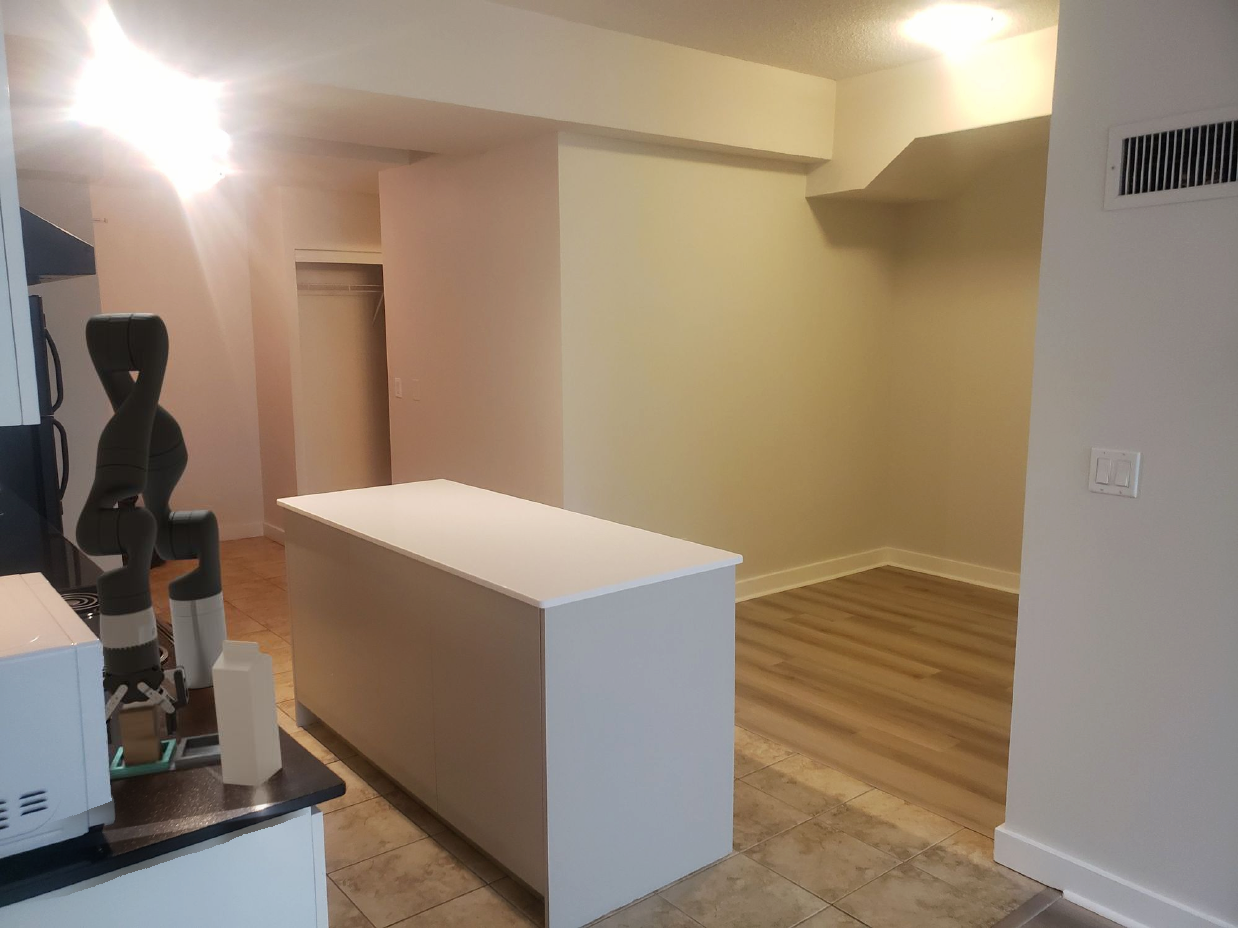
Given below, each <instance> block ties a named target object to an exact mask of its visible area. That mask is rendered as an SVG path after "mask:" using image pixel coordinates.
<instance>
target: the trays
mask: <svg viewBox="0 0 1238 928" xmlns="http://www.w3.org/2000/svg"><path fill="white" fill-rule="evenodd" d="M161 742H162V750H163V753H162V756H161V759H160V761H154V762H147V763H141V764H134V765H128V766H125V763H124V755H123V747H122V746H120V747H119V748H118V750H117V752H116V754H115V756H114V759H113V760H112V762H111V765H110V767H109V768H110V770H111V780H116V779H125V778H127V777H128V778H129V777H136V776H141V775H142V776H143V775H148V774H149V775H150V774H155V773H162V772H168V771H175V770H182V769H188V768H193V767H194V768H195V767H201V766H206V765H214V764H221V754H220V744H219V735H218V732H215V733H206V734H200V735H194V736H187V737H182V738H181V740H180V743H179V744H177V739H176V738H173V739H167V740H161Z"/></svg>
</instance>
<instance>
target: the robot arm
mask: <svg viewBox="0 0 1238 928" xmlns="http://www.w3.org/2000/svg"><path fill="white" fill-rule="evenodd" d="M84 334H85V342H86V346H87V351H88V354H89V357H90V359H91V362H92V365H93V367H94V369H95V371H96V373H97V376H98V378H99V381H100V383H101V384H102V386H103V389H104V391H105V393H106V396H107V398H108V400H109V403H110V405H111V408H112V410H113V413H114V414H113V415H112V416H111V418H109V421H108V422H107V423H106V424H105V426H104V428H103V430H102V431H101V433H100V437H99V439H98V443H97V447H96V449H97V450H96V459H95V473H94V479H93V483H92V485H91V488H90V491H89V494H88V496H87V497H86V498H87V499H86V501H85V504H84V506H83V507H82V510H81V512H80V514H79V516H78V518H77V522H76V526H75V541H76V544H77V546H78V547H79V549H80V551H82V553H83V554H85V555H86V556H90V557H106V556H121V555H123V556H124V555H128V562H127V564H126V565H124V566H121V567H117V568H113V569H111V570H109V569H108V570H107V571H104V572H102V573H101V574H100V575H98V577H97V580H96V592H97V599H98V600H97V601H98V609H99V632H100V633H99V639H100V643H101V642H102V643H101V645H102V644H103V651H102V657H103V656H104V659H103V665H104V666H103V667H104V677H103V686H102V687H103V688H104V689H105V690H106V691H107V692H108V693H109V694H110V695H111V697H110V698H109V700H108V702H107V703H106V705H105V706H104V708H105V709H106V724H107V733H108V746H109V745H110V746H111V745H114V743H115V740H116V735H115V734H116V732H115V726H114V720H113V719H114V718H113V716H111V715H112V713H113V712H114V710H115V709H116V707H117V706H118V704H119V703H122V704H123V705H124V704H131V703H133V702H146V701H147V700H152V701H153V702H155V703H156V704H157V706H160V707H161V708H162V709H163V710H164V711H165V722H166V731H167V736H168V737H169V736H170V737H171V736H174V734H175V733H176V732H177V731H178V727H179V726H180V725H179V716H178V715H179V713H178V711H179V709H181V708H186V707H187V705H188V703H189V700H190V695H189V694H190V693H189V689H203V688H208V687H212V686H213V676H212V668H213V666H214V664H215V663H216V661H217V659H218V658H219V656H220V655H221V653H222V651H223V646H222V642H223V641H228V634H227V625H226V614H225V605H224V598H223V585H222V571H221V569H222V568H221V555H220V533H219V532H220V530H219V524H218V523H219V522H218V519H217V516H216V515H215V513H214V511H212V510H210V509H194V510H193V509H192V510H191V509H190V510H177V511H173V510H172V509H171V507H170V505H169V501H170V500H171V499H170V498H171V496H172V493H173V492H174V490H175V488H176V486H177V485H178V483H179V481H180V480H181V479H182V476H183V474H184V472H185V470H186V467H187V466H188V465H187V464H188V461H189V454H188V449H187V446H186V442H185V439H184V435H183V432H182V429H181V425H180V424H179V422H178V421H177V420H176V418H174V416H173V415H172V414H170V412H168V411H167V410H166V408H164V407H163V406H162V405H161V404H160V403H159V400H160V397H161V393H162V388H163V387H162V386H163V383H164V379H165V376H166V375H165V374H166V371H167V365H168V361H169V354H170V353H169V350H170V340H169V333H168V330H167V326H166V324H165V322H164V321H163V319H162V317H160V316H159V315H158V314H156V313H150V312H148V313H147V312H137V313H136V312H135V313H134V312H127V313H125V312H123V313H122V312H121V313H120V312H119V313H103V314H102V313H101V314H95V315H92V316H91V317H90V318H89V319H88V320H87V322H86V325H85V333H84ZM130 372H138V374H137V377H136V380H135V379H134V378H133V376H132V374H131V373H130ZM137 495H141V498H142V500H143V504H144V507H143V506H125V507H115V506H116V505H117V503H118V502H120V501H122V500H126V499H128V498H131V497H135V496H137ZM154 549H155V551H156V554H157V555H158V556H159V558H160V559H162V560H164V561H169V562H171V561H174V562H175V561H176V562H177V561H190V560H198V566H197V567H196V568H195V569H193V570H191V571H189V572H187V573H185V574H184V573H183V575H180V576H178V577H175V578H174V579H172V580H171V581H170V582H169V583H168V586H167V591H168V598H169V599H168V600H169V607H170V608H169V609H170V615H171V624H172V625H171V626H172V633H173V634H172V635H173V636H172V637H173V645H174V652H175V661H176V662H175V663H176V667H175V668H172V669H166V670H165V669H164V668H163V667H162V662H161V656H160V655H161V654H160V646H159V639H158V638H159V637H158V629H157V628H158V626H157V621H156V620H157V619H156V614H155V612H154V608H153V602H152V601H153V599H152V593H151V592H152V591H151V584H150V582H151V581H150V580H151V579H150V577H151V564H152V558H153V552H154ZM165 679H167V680H169V682H170V684H171V685H172V684H173V685H174V687H175V692H176V697H177V698H174V697H172V696H171V695H170V693H169V692H168V690H167V689H166V688H164V687H163V685H162V683H163V682H164V680H165ZM213 687H214V686H213Z"/></svg>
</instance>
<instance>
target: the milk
mask: <svg viewBox="0 0 1238 928" xmlns="http://www.w3.org/2000/svg"><path fill="white" fill-rule="evenodd" d="M222 646H223V651H222V653H221V655H220V656H219V658H218V659H217V661H216V663H215V664H214V666H213V668H212V676H213V695H214V704H215V705H214V706H215V713H216V714H215V715H216V723H217V733H218V735H219V744H220V754H221V763H220V764H221V773H222V783H223V784H229V785H238V786H239V785H240V786H251V787H261V786H262V785H263V784H264V783H265V782H267V781H268V780H269V779H270V778H271V777H273V775H276V773H277V772H278V771H280V770H281V768H282V767H283V766H282V765H283V764H282V755H281V754H282V753H281V743H280V733H279V732H280V731H279V722H278V710H277V700H276V699H277V698H276V690H275V688H276V687H275V678H274V667H273V666H274V665H273V656H272V655H268V654H265V653H263V652H260V645H259V643H258V642H255V641H241V640H240V641H239V640H238V641H237V640H227V641H223V642H222Z"/></svg>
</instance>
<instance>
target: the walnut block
mask: <svg viewBox="0 0 1238 928" xmlns="http://www.w3.org/2000/svg"><path fill="white" fill-rule="evenodd" d="M158 706H159V705H157V704H156V703H155V702H153V701H152V700H151V699H149V700H147V701H146V702H133V703H131V704H124V703H123V705H122V707H121V709H120V711H119V714H118V720H119V722H118V723H119V729H120V737H121V745H122V746H121V747H123V755H124V763H125V766H128V765H134V764H141V763H147V762H154V761H160V759H161V756H162V753H163V750H162V742H161V741H162V734H161V725H160V717H159V708H158Z"/></svg>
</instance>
